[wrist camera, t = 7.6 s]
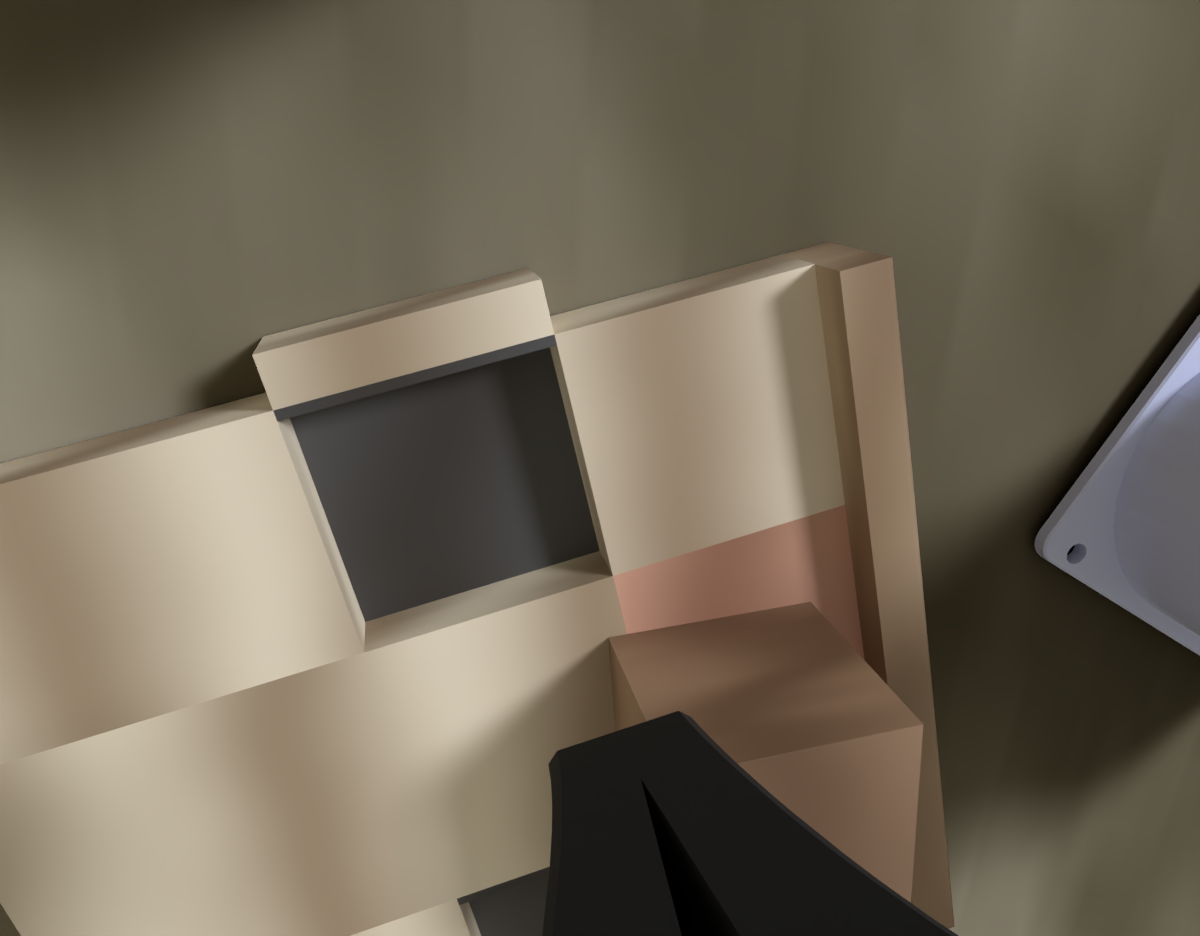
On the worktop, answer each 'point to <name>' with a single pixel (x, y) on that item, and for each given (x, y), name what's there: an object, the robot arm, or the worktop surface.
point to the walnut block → (790, 722)
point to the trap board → (432, 594)
